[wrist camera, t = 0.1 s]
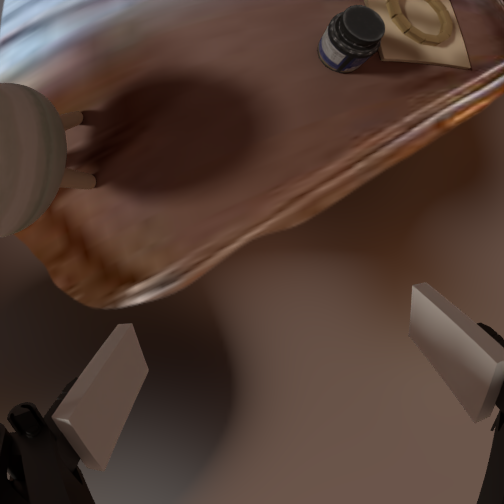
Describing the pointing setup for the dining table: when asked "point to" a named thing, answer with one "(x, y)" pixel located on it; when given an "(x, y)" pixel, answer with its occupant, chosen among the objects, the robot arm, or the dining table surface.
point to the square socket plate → (420, 32)
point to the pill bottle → (351, 38)
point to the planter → (32, 156)
